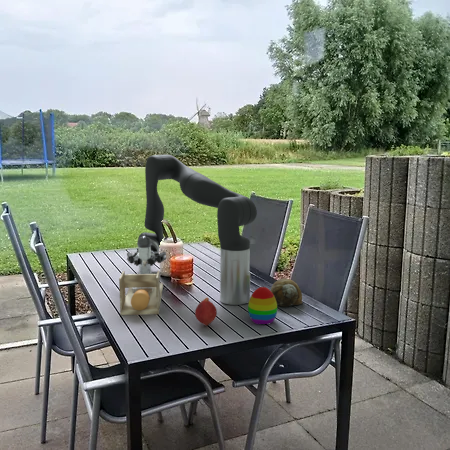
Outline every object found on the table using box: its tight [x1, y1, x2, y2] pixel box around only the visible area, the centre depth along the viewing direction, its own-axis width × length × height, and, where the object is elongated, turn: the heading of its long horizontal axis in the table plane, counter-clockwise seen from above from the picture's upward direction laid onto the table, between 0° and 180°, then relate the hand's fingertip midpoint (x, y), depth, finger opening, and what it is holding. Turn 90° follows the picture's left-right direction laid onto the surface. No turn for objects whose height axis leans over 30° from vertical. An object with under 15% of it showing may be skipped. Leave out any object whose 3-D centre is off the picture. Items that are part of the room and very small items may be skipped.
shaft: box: [132, 236, 153, 293], centre depth 147 cm, size 6×13×16 cm, turn 5°
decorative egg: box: [247, 286, 278, 325], centre depth 128 cm, size 8×8×10 cm
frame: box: [118, 270, 164, 316], centre depth 145 cm, size 11×26×11 cm, turn 5°
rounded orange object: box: [131, 290, 150, 310], centre depth 134 cm, size 5×5×4 cm
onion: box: [194, 297, 217, 327], centre depth 125 cm, size 6×6×8 cm
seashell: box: [270, 277, 303, 308], centre depth 143 cm, size 11×9×8 cm
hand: (144, 262), depth 148 cm, fingers closed on shaft, 4 cm apart
